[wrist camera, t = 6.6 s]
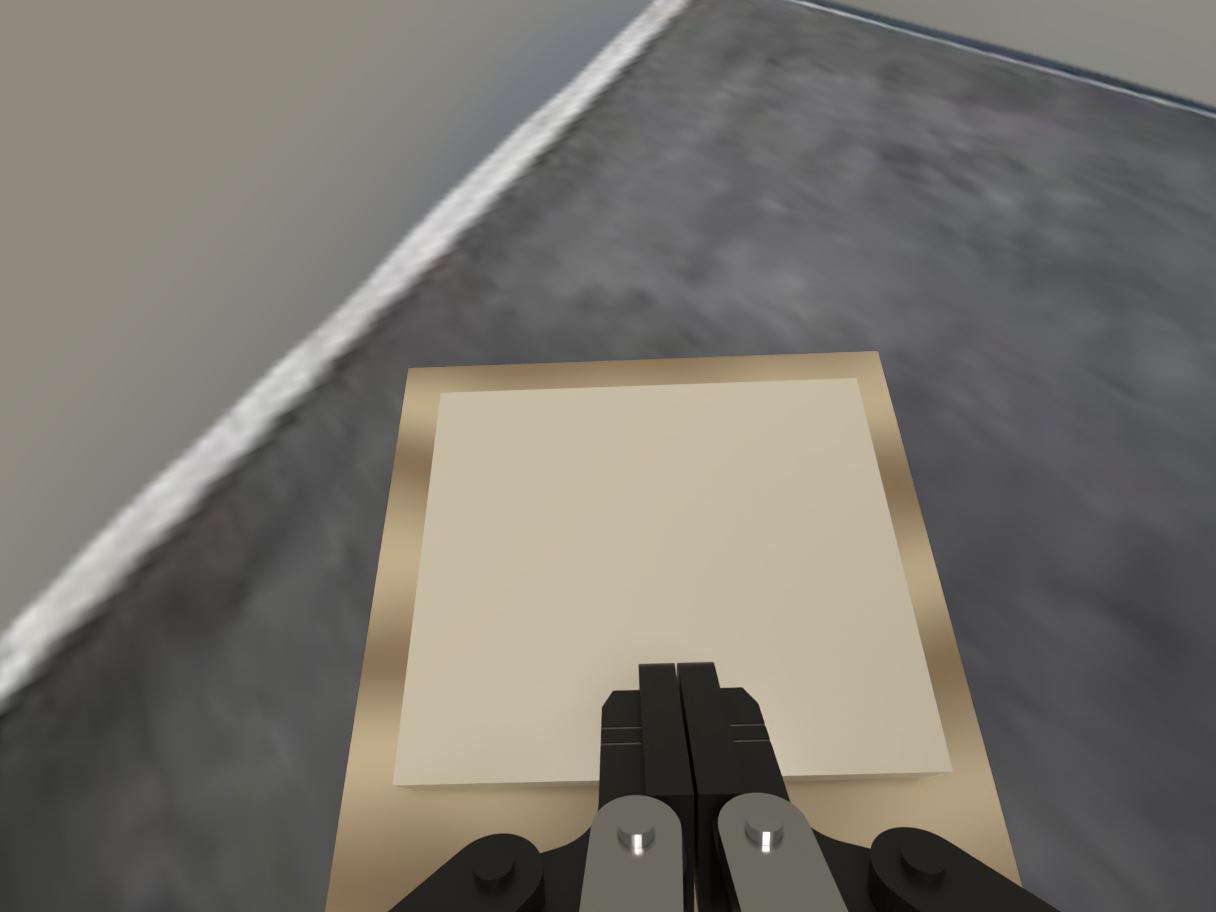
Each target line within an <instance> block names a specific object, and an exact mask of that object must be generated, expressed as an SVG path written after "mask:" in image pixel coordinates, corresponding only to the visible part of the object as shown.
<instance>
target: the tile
mask: <svg viewBox="0 0 1216 912" xmlns="http://www.w3.org/2000/svg"><path fill="white" fill-rule="evenodd" d="M685 662H714V665H715V668H716V672H717V676H718V680H719V685H720V688H733V687H743V688H744V689H745V690H746V691H747V692H748V693H749V694H750V695H751V696H752V698H753V699H754V700H755V701H756V702H757V703H758V704H759V707H760V710H761V713H762V716H763V719H764V722H765V726H766V728H767V731H768V734H769V737H770V742H771V744H772V747H773V750H774V753H775V756H776V759H777V762H778V765H779V768H780V771H781V774H782V777H783V780H784V782H790V781H831V780H872V779H914V778H927V777H931V776H936V775H941V774H945V773H950V772H953V770H952V766H951V761H950V757H949V753H948V749H947V745H946V741H945V737H944V733H943V729H942V725H941V721H940V717H939V712H938V708H937V704H936V700H935V696H934V692H933V688H932V684H931V680H930V676H929V672H928V668H927V664H926V659H925V655H924V651H923V647H922V643H921V639H920V635H919V631H918V627H917V623H916V619H915V615H914V610H913V606H912V602H911V598H910V594H909V590H908V586H907V582H906V578H905V574H904V570H903V566H902V561H901V557H900V553H899V549H898V545H897V541H896V537H895V533H894V529H893V525H892V521H891V517H890V512H889V508H888V504H887V500H886V496H885V492H884V488H883V484H882V480H881V476H880V472H879V468H878V463H877V459H876V455H875V451H874V447H873V443H872V439H871V435H870V431H869V427H868V423H867V419H866V414H865V410H864V406H863V402H862V398H861V394H860V390H859V386H858V382H857V378H843V379H815V380H787V381H759V382H731V383H703V384H675V385H647V386H620V387H592V388H564V389H536V390H508V391H480V392H452V393H441V394H440V402H439V410H438V418H437V426H436V435H435V443H434V451H433V459H432V467H431V475H430V483H429V492H428V500H427V508H426V516H425V524H424V532H423V540H422V549H421V557H420V565H419V573H418V581H417V589H416V598H415V606H414V614H413V622H412V630H411V638H410V646H409V655H408V663H407V671H406V679H405V687H404V695H403V703H402V712H401V720H400V728H399V736H398V744H397V752H396V760H395V769H394V777H393V785H392V786H397V787H401V788H406V789H410V790H414V791H419V790H460V789H501V788H543V787H584V786H599V775H600V746H601V714H602V706H603V705H604V703H605V702H606V700H607V699H608V697H609V696H610V694H611V693H612V691H615V690H639V669H638V664H650V663H674V664H675V669H676V676H677V663H685Z"/></svg>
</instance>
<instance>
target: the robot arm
mask: <svg viewBox="0 0 1216 912" xmlns="http://www.w3.org/2000/svg"><path fill="white" fill-rule="evenodd" d="M638 669H639V690H615V691H612V693H611V694H610V696H609V697H608V699H607V700H606V702H605V703H604V705H603V706H602V714H601V746H600V775H599V805H598V812H597V814H596V815H595V817H594V819H593V821H592V825H591V826H590V827H589V829H588V830H587V831H586V832H585V833H584V834H583V835H582V836H580V837H579V838H577V839H576V840H574V841H572V842H571V843H569V844H567V845H564V846H561V847H559V848H555V849H552V850H549V851H546V852H542V853H539V851H538V849H537V848H536V847H535V845H534V844H532V843H531V842H530V841H529V840H527V839H525V838H523V837H521V836H518V835H514V834H508V833H499V834H492V835H488V836H484V837H482V838H479V839H477V840H475V841H473V842H471V843H469V844H468V845H467V846H465V847H464V848H463V849H462V850H460V851H459V852H458V853H457V854H456V855H454V856H453V857H452V858H451V859H450V860H448V861H447V862H446V863H445V864H444V865H442V866H441V867H440V868H439V869H438V870H437V871H435V872H434V873H433V874H432V875H431V876H429V877H428V878H427V879H426V880H425V881H423V882H422V883H421V884H420V885H419V886H418V887H416V888H415V889H414V890H413V891H412V892H410V893H409V894H408V895H407V896H406V897H404V898H403V899H402V900H401V901H400V902H399V903H397V904H396V905H395V906H394V907H393V908H391V909H390V910H389V911H388V912H694V884H695V892H696V900H697V908H698V912H1060V911H1058V910H1057V909H1055V908H1054V907H1052V906H1051V905H1049V904H1047V903H1046V902H1044V901H1043V900H1041V899H1039V898H1038V897H1036V896H1035V895H1033V894H1032V893H1030V892H1028V891H1027V890H1025V889H1024V888H1022V887H1020V886H1019V885H1017V884H1016V883H1014V882H1013V881H1011V880H1009V879H1008V878H1006V877H1005V876H1003V875H1002V874H1000V873H998V872H997V871H995V870H994V869H992V868H990V867H989V866H987V865H986V864H984V863H983V862H981V861H979V860H978V859H976V858H975V857H973V856H971V855H970V854H968V853H967V852H965V851H964V850H962V849H960V848H959V847H957V846H956V845H954V844H952V843H951V842H949V841H948V840H946V839H944V838H942V837H941V836H939V835H936V834H934V833H932V832H929V831H926V830H923V829H918V828H913V827H896V828H891V829H888V830H886V831H883V832H882V833H880V834H879V835H878V836H877V837H876V838H875V839H874V841H873V843H872V845H871V848H867V847H863V846H858V845H854V844H850V843H846V842H842V841H839V840H836V839H833V838H830V837H828V836H825V835H823V834H822V833H820V832H818V831H816V830H815V829H813V828H812V827H810V824H809V822H808V821H807V819H806V817H805V816H804V814H803V813H802V812H801V811H800V810H799V809H798V808H797V807H796V806H794V805H793V804H792V803H791V802H790V799H789V796H788V793H787V790H786V787H785V783H784V780H783V777H782V774H781V771H780V768H779V765H778V762H777V759H776V756H775V753H774V750H773V747H772V744H771V742H770V737H769V734H768V731H767V728H766V726H765V722H764V719H763V716H762V713H761V710H760V707H759V704H758V703H757V702H756V701H755V700H754V699H753V698H752V696H751V695H750V694H749V693H748V692H747V691H746V690H745V689H744V688H743V687H733V688H720V685H719V680H718V676H717V672H716V668H715V665H714V662H685V663H677V676H676V669H675V664H674V663H650V664H638Z"/></svg>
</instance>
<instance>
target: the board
mask: <svg viewBox="0 0 1216 912" xmlns="http://www.w3.org/2000/svg"><path fill="white" fill-rule="evenodd" d="M843 378H857V382H858V386H859V390H860V394H861V398H862V402H863V406H864V410H865V414H866V419H867V423H868V427H869V431H870V435H871V439H872V443H873V447H874V451H875V455H876V459H877V463H878V468H879V472H880V476H881V480H882V484H883V488H884V492H885V496H886V500H887V504H888V508H889V512H890V517H891V521H892V525H893V529H894V533H895V537H896V541H897V545H898V549H899V553H900V557H901V561H902V566H903V570H904V574H905V578H906V582H907V586H908V590H909V594H910V598H911V602H912V606H913V610H914V615H915V619H916V623H917V627H918V631H919V635H920V639H921V643H922V647H923V651H924V655H925V659H926V664H927V668H928V672H929V676H930V680H931V684H932V688H933V692H934V696H935V700H936V704H937V708H938V712H939V717H940V721H941V725H942V729H943V733H944V737H945V741H946V745H947V749H948V753H949V757H950V761H951V766H952V770H953V772H950V773H945V774H941V775H936V776H931V777H927V778H914V779H872V780H831V781H790V782H784V783H785V787H786V790H787V793H788V796H789V799H790V802H791V803H792V804H793V805H794V806H796V807H797V808H798V809H799V810H800V811H801V812H802V813H803V814H804V816H805V817H806V819H807V821H808V822H809V824H810V827H812V828H813V829H815V830H816V831H818V832H820V833H822V834H823V835H825V836H828V837H830V838H833V839H836V840H839V841H842V842H846V843H850V844H854V845H858V846H863V847H867V848H871V845H872V843H873V841H874V839H875V838H876V837H877V836H878V835H879V834H880V833H882V832H883V831H886V830H888V829H891V828H896V827H913V828H918V829H923V830H926V831H929V832H932V833H934V834H936V835H939V836H941V837H942V838H944V839H946V840H948V841H949V842H951V843H952V844H954V845H956V846H957V847H959V848H960V849H962V850H964V851H965V852H967V853H968V854H970V855H971V856H973V857H975V858H976V859H978V860H979V861H981V862H983V863H984V864H986V865H987V866H989V867H990V868H992V869H994V870H995V871H997V872H998V873H1000V874H1002V875H1003V876H1005V877H1006V878H1008V879H1009V880H1011V881H1013V882H1014V883H1016V884H1017V885H1019V886H1020V887H1022V884H1021V880H1020V876H1019V873H1018V869H1017V865H1016V862H1015V858H1014V854H1013V851H1012V847H1011V843H1010V839H1009V836H1008V832H1007V828H1006V825H1005V821H1004V817H1003V813H1002V810H1001V806H1000V802H999V799H998V795H997V791H996V788H995V784H994V780H993V776H992V773H991V769H990V765H989V762H988V758H987V754H986V751H985V747H984V743H983V739H982V736H981V732H980V728H979V725H978V721H977V717H976V714H975V710H974V706H973V702H972V699H971V695H970V691H969V688H968V684H967V680H966V676H965V673H964V669H963V665H962V662H961V658H960V654H959V651H958V647H957V643H956V639H955V636H954V632H953V628H952V625H951V621H950V617H949V614H948V610H947V606H946V602H945V599H944V595H943V591H942V588H941V584H940V580H939V576H938V573H937V569H936V565H935V562H934V558H933V554H932V551H931V547H930V543H929V539H928V536H927V532H926V528H925V525H924V521H923V517H922V514H921V510H920V506H919V502H918V499H917V495H916V491H915V488H914V484H913V480H912V477H911V473H910V469H909V465H908V462H907V458H906V454H905V451H904V447H903V443H902V439H901V436H900V432H899V428H898V425H897V421H896V417H895V414H894V410H893V406H892V402H891V399H890V395H889V391H888V388H887V384H886V380H885V377H884V373H883V369H882V365H881V362H880V358H879V354H878V351H868V352H841V353H814V354H786V355H759V356H732V357H704V358H677V359H650V360H622V361H595V362H568V363H540V364H513V365H486V366H458V367H431V368H409V370H408V376H407V383H406V389H405V395H404V402H403V408H402V415H401V421H400V428H399V434H398V441H397V447H396V454H395V460H394V467H393V473H392V480H391V486H390V493H389V499H388V506H387V512H386V519H385V525H384V532H383V538H382V545H381V551H380V558H379V564H378V571H377V577H376V584H375V590H374V597H373V603H372V610H371V616H370V623H369V629H368V636H367V642H366V649H365V655H364V662H363V668H362V675H361V681H360V688H359V694H358V700H357V707H356V713H355V720H354V726H353V733H352V739H351V746H350V752H349V759H348V765H347V772H346V778H345V785H344V791H343V798H342V804H341V811H340V817H339V824H338V830H337V837H336V843H335V850H334V856H333V863H332V869H331V876H330V882H329V889H328V895H327V902H326V908H325V912H388V911H389V910H390V909H391V908H393V907H394V906H395V905H396V904H397V903H399V902H400V901H401V900H402V899H403V898H404V897H406V896H407V895H408V894H409V893H410V892H412V891H413V890H414V889H415V888H416V887H418V886H419V885H420V884H421V883H422V882H423V881H425V880H426V879H427V878H428V877H429V876H431V875H432V874H433V873H434V872H435V871H437V870H438V869H439V868H440V867H441V866H442V865H444V864H445V863H446V862H447V861H448V860H450V859H451V858H452V857H453V856H454V855H456V854H457V853H458V852H459V851H460V850H462V849H463V848H464V847H465V846H467V845H468V844H469V843H471V842H473V841H475V840H477V839H479V838H482V837H484V836H488V835H492V834H499V833H508V834H514V835H518V836H521V837H523V838H525V839H527V840H529V841H530V842H531V843H532V844H534V845H535V847H536V848H537V849H538V851H539V853H542V852H546V851H549V850H552V849H555V848H559V847H561V846H564V845H567V844H569V843H571V842H572V841H574V840H576V839H577V838H579V837H580V836H582V835H583V834H584V833H585V832H586V831H587V830H588V829H589V827H590V826H591V825H592V821H593V819H594V817H595V815H596V814H597V812H598V805H599V786H584V787H543V788H501V789H460V790H419V791H414V790H410V789H406V788H401V787H397V786H392V785H393V777H394V769H395V760H396V752H397V744H398V736H399V728H400V720H401V712H402V703H403V695H404V687H405V679H406V671H407V663H408V655H409V646H410V638H411V630H412V622H413V614H414V606H415V598H416V589H417V581H418V573H419V565H420V557H421V549H422V540H423V532H424V524H425V516H426V508H427V500H428V492H429V483H430V475H431V467H432V459H433V451H434V443H435V435H436V426H437V418H438V410H439V402H440V394H441V393H452V392H480V391H508V390H536V389H564V388H592V387H620V386H647V385H675V384H703V383H731V382H759V381H787V380H815V379H843ZM694 912H698V908H697V900H696V892H695V884H694Z"/></svg>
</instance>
